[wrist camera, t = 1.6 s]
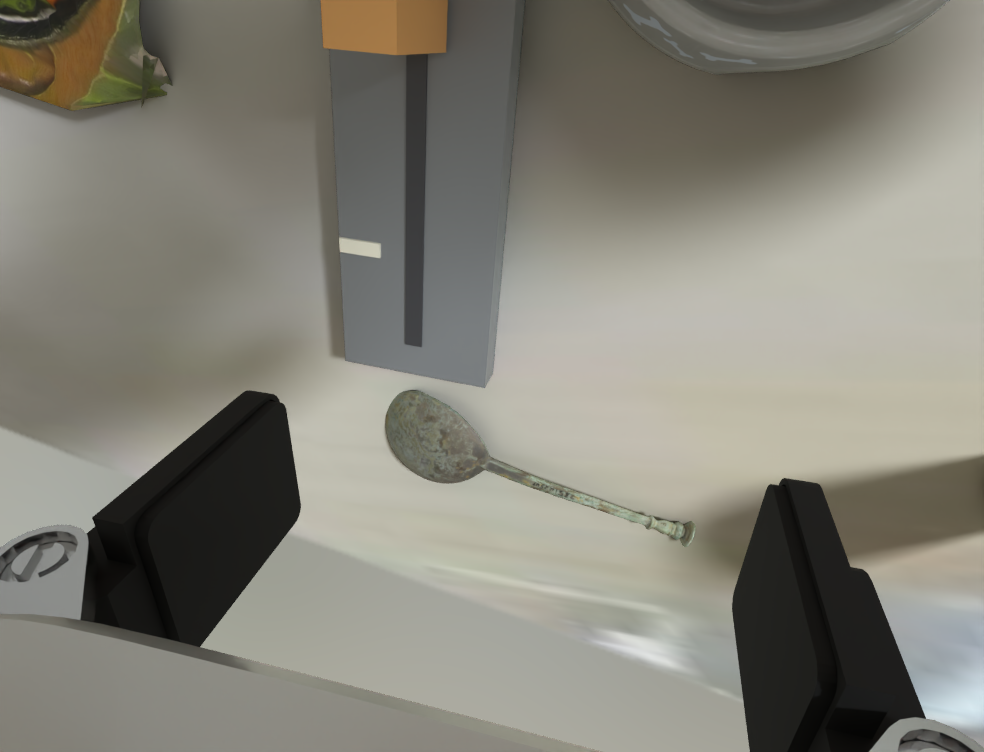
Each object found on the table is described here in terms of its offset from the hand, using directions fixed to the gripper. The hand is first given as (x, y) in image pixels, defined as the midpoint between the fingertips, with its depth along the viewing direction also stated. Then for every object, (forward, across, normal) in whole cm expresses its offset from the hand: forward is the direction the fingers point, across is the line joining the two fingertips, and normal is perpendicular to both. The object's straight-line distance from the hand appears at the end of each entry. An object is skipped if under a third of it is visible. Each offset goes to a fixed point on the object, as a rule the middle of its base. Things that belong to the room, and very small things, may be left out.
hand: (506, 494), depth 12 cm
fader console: (+24, +10, -1) cm, 25 cm away
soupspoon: (+24, +3, +18) cm, 30 cm away
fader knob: (+21, +9, -9) cm, 25 cm away
